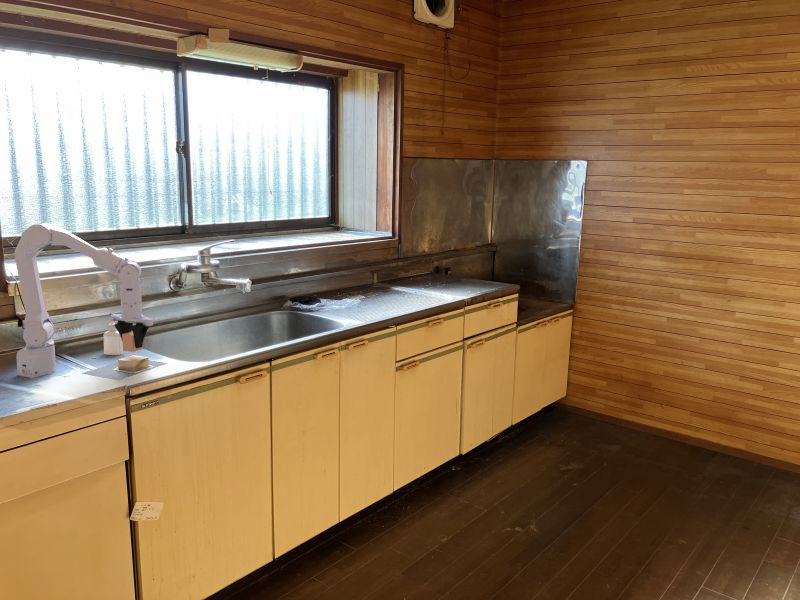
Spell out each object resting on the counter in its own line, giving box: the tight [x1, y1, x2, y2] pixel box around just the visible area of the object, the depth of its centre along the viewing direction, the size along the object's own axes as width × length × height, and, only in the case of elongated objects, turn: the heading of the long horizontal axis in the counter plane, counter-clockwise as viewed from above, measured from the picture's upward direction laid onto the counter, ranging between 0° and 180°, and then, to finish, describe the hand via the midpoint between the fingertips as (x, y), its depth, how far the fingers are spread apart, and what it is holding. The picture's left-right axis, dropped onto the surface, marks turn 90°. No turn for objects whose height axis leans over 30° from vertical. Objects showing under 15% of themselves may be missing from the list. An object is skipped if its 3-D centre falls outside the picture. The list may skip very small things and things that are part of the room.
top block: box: [122, 330, 144, 353], centre depth 192 cm, size 4×4×5 cm
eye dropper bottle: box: [103, 320, 124, 356], centre depth 208 cm, size 4×6×12 cm
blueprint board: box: [81, 359, 168, 381], centre depth 193 cm, size 20×14×1 cm
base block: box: [117, 354, 150, 372], centre depth 193 cm, size 6×6×3 cm
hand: (133, 346), depth 192 cm, fingers closed on top block, 4 cm apart
